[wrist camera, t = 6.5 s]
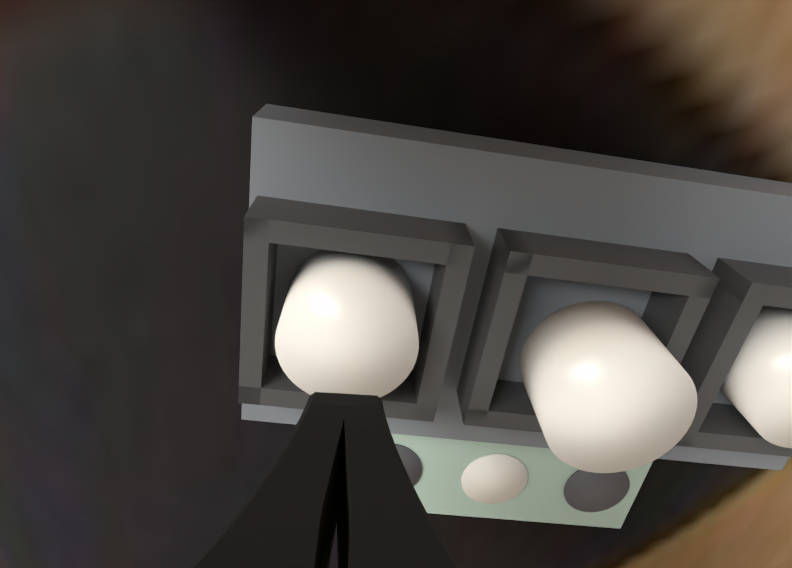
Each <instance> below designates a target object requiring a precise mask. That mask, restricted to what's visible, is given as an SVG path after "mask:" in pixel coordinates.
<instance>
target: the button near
mask: <svg viewBox="0 0 792 568" xmlns="http://www.w3.org/2000/svg"><path fill="white" fill-rule="evenodd" d="M275 350H276V355H277V358H278V361H279V364H280V366H281V368H282V370H283V371H284V373H285V374H286V375H287V377H288V378H289V379H290V380H291V381H292V382H293V383H294V384H295V385H296V386H297V387H299V388H300V389H301V390H303V391H304V392H306V393H308V394H310V395H312V394H313V393H314V392H325V393H342V394H359V395H376V396H378V397H379V398H380V397H382V396H384V395H386V394H388V393H390V392H391V391H393V390H394V389H396V388H397V387H398V386H399V385H400V384H401V383H403V381H404V380H405V379H406V378H407V377H408V375H409V374H410V372H411V371H412V369H413V367H414V365H415V363H416V359H417V356H418V350H419V338H418V330H417V322H416V315H415V307H414V300H413V293H412V287H411V284H410V281H409V279H408V277H407V275H406V273H405V272H404V270H403V269H402V267H401V266H400V265H399V264H398V263H397V262H396V261H395V260H394V259H393V258H385V257H378V256H370V255H362V254H354V253H346V252H338V251H330V250H322V249H321V250H319V251H317V252H316V253H314V254H312V255H311V256H309V257H308V258H307V259H306V260H305V261H304V262H303V263H302V264H301V265H300V266H299V267H298V269H297V270H296V272H295V274H294V276H293V278H292V280H291V283H290V286H289V290H288V293H287V296H286V300H285V303H284V306H283V309H282V313H281V316H280V319H279V322H278V326H277V329H276V334H275Z"/></svg>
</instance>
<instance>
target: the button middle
mask: <svg viewBox="0 0 792 568" xmlns="http://www.w3.org/2000/svg"><path fill="white" fill-rule="evenodd" d="M519 366H520V374H521V378H522V381H523V383H524V386H525V389H526V391H527V394H528V396H529V399H530V401H531V404H532V406H533V409H534V411H535V414H536V416H537V419H538V422H539V424H540V427H541V429H542V432H543V434H544V437H545V439H546V442H547V444H548V446H549V448H550V449H551V451H552V452H553V453H554V454H555V455H556V456H557V457H558V458H559V459H560V460H561V461H563V462H564V463H566V464H568V465H569V466H571V467H574V468H576V469H579V470H583V471H587V472H593V473H616V472H622V471H627V470H631V469H635V468H637V467H640V466H643V465H645V464H648V463H650V462H652V461H654V460H655V459H657V458H659V457H661V456H662V455H664V454H665V453H666V452H668V451H669V450H670V449H671V448H673V447H674V446H675V445H676V444H677V443H678V442H679V441H680V440H681V439H682V437H683V436H684V435H685V434H686V432H687V431H688V429H689V427H690V426H691V424H692V421H693V419H694V417H695V413H696V409H697V392H696V388H695V385H694V383H693V381H692V379H691V377H690V376H689V375H688V373H687V372H686V371H685V370H684V368H683V367H682V366H681V365H680V364H679V362H678V361H677V360H676V359H675V358H674V357H673V355H672V354H671V353H670V352H669V351H668V350H667V348H666V347H665V346H664V345H663V344H662V343H661V341H660V340H659V339H658V338H657V337H656V335H655V334H654V333H653V332H652V331H651V330H650V328H649V327H648V326H647V325H646V324H645V323H644V321H643V320H642V319H641V318H640V317H639V316H638V315H637V314H636V313H635V312H633V311H632V310H630V309H629V308H627V307H625V306H623V305H620V304H617V303H613V302H607V301H586V302H580V303H576V304H573V305H570V306H567V307H565V308H562V309H560V310H558V311H556V312H554V313H553V314H551V315H550V316H548V317H547V318H545V319H544V320H543V321H542V322H541V323H540V324H539V325H538V326H537V327H536V328H535V329H534V330H533V331H532V333H531V334H530V335H529V337H528V338H527V340H526V342H525V344H524V346H523V349H522V352H521V356H520V365H519Z"/></svg>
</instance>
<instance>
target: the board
mask: <svg viewBox="0 0 792 568" xmlns="http://www.w3.org/2000/svg"><path fill="white" fill-rule="evenodd" d="M321 249H322V250H330V251H338V252H346V253H354V254H362V255H370V256H378V257H385V258H393V259H394V260H395V261H396V262H397V263H398V264H399V265H400V266H401V267H402V269H403V270H404V272H405V273H406V275H407V277H408V279H409V281H410V284H411V287H412V293H413V300H414V307H415V315H416V322H417V330H418V338H419V350H418V356H417V359H416V363H415V365H414V367H413V369H412V371H411V372H410V374H409V375H408V377H407V378H406V379H405V380H404V381H403V383H401V384H400V385H399V386H398V387H397V388H396V389H394V390H393V391H391V392H390V393H388V394H386V395H384V396H382V397H380V399H381V400H382V402H383V408H384V412H385V416H386V419H387V423H388V426H389V429H390V432H391V434H402V435H412V436H423V437H433V438H444V439H455V440H465V441H476V442H486V443H497V444H507V445H518V446H528V447H539V448H549V446H548V444H547V442H546V439H545V437H544V434H543V432H542V429H541V427H540V424H539V422H538V419H537V416H536V414H535V411H534V409H533V406H532V404H531V401H530V399H529V396H528V394H527V391H526V389H525V386H524V383H523V381H522V378H521V374H520V366H519V365H520V356H521V352H522V349H523V346H524V344H525V342H526V340H527V338H528V337H529V335H530V334H531V333H532V331H533V330H534V329H535V328H536V327H537V326H538V325H539V324H540V323H541V322H542V321H543V320H544V319H545V318H547V317H548V316H550V315H551V314H553V313H554V312H556V311H558V310H560V309H562V308H565V307H567V306H570V305H573V304H576V303H580V302H586V301H607V302H613V303H617V304H620V305H623V306H625V307H627V308H629V309H630V310H632V311H633V312H635V313H636V314H637V315H638V316H639V317H640V318H641V319H642V320H643V321H644V323H645V324H646V325H647V326H648V327H649V328H650V330H651V331H652V332H653V333H654V334H655V335H656V337H657V338H658V339H659V340H660V341H661V343H662V344H663V345H664V346H665V347H666V348H667V350H668V351H669V352H670V353H671V354H672V355H673V357H674V358H675V359H676V360H677V361H678V362H679V364H680V365H681V366H682V367H683V368H684V370H685V371H686V372H687V373H688V375H689V376H690V377H691V379H692V381H693V383H694V385H695V388H696V392H697V409H696V413H695V417H694V419H693V421H692V424H691V426H690V427H689V429H688V431H687V432H686V434H685V435H684V436H683V437H682V439H681V440H680V441H679V442H678V443H677V444H676V445H675V446H674V447H673V448H671V449H670V450H669V451H668V452H666V453H665V454H664V455H662V456H661V457H659V458H657V459H666V460H676V461H687V462H697V463H708V464H718V465H729V466H740V467H750V468H761V469H771V470H782V469H783V467H784V466H785V464H786V463H787V461H788V459H789V458H790V457H792V448H785V447H780V446H777V445H774V444H772V443H770V442H768V441H767V440H765V439H764V438H763V437H762V436H761V435H760V434H759V433H758V432H757V431H756V430H755V429H754V428H753V426H752V425H751V424H750V423H749V422H748V421H747V420H746V419H745V417H744V416H743V415H742V414H741V413H740V412H739V411H738V410H737V409H736V407H735V406H734V405H733V404H732V403H731V402H730V401H729V400H728V399H727V397H726V396H725V395H724V394H723V393H722V392H721V391H720V388H721V386H722V384H723V382H724V380H725V379H726V377H727V375H728V373H729V371H730V369H731V367H732V365H733V363H734V361H735V359H736V357H737V355H738V353H739V351H740V349H741V347H742V346H743V344H744V342H745V340H746V338H747V336H748V334H749V332H750V330H751V328H752V326H753V324H754V322H755V320H756V318H757V316H758V315H759V313H760V311H761V309H762V307H763V305H764V306H772V307H780V308H788V309H792V183H787V182H781V181H774V180H767V179H761V178H754V177H748V176H741V175H734V174H728V173H721V172H715V171H708V170H701V169H695V168H688V167H681V166H675V165H668V164H662V163H655V162H648V161H642V160H635V159H629V158H622V157H615V156H609V155H602V154H596V153H589V152H582V151H576V150H569V149H563V148H556V147H549V146H543V145H536V144H530V143H523V142H516V141H510V140H503V139H496V138H490V137H483V136H477V135H470V134H463V133H457V132H450V131H444V130H437V129H430V128H424V127H417V126H411V125H404V124H397V123H391V122H384V121H378V120H371V119H364V118H358V117H351V116H344V115H338V114H331V113H325V112H318V111H311V110H305V109H298V108H292V107H285V106H278V105H272V104H266V105H265V106H264V107H262V108H261V109H260V110H259V111H258V112H257V113H256V114H255V115H254V116H252V141H251V168H250V196H249V210H248V211H247V213H246V214H245V216H244V243H243V274H242V305H241V336H240V367H239V398H238V403H242V418H241V419H244V420H254V421H265V422H275V423H286V424H297V423H298V421H299V419H300V417H301V415H302V413H303V410H304V408H305V406H306V404H307V401H308V398H309V396H310V394H308V393H306V392H304V391H303V390H301V389H300V388H299V387H297V386H296V385H295V384H294V383H293V382H292V381H291V380H290V379H289V378H288V377H287V375H286V374H285V373H284V371H283V370H282V368H281V366H280V364H279V361H278V358H277V355H276V350H275V334H276V329H277V326H278V322H279V319H280V316H281V313H282V309H283V306H284V303H285V300H286V296H287V293H288V290H289V286H290V283H291V280H292V278H293V276H294V274H295V272H296V270H297V269H298V267H299V266H300V265H301V264H302V263H303V262H304V261H305V260H306V259H307V258H308V257H309V256H311V255H312V254H314V253H316V252H317V251H319V250H321Z"/></svg>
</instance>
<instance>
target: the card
mask: <svg viewBox="0 0 792 568" xmlns="http://www.w3.org/2000/svg"><path fill="white" fill-rule="evenodd" d="M391 435H392V437H393V440H394V443H395V446H396V448H397V451H398V453H399V456H400V458H401V460H402V462H403V465H404V467H405V469H406V471H407V474H408V476H409V478H410V480H411V482H412V485H413V487H414V489H415V491H416V493H417V495H418V497H419V499H420V501H421V502H422V504H423V506H424V508H425V510H426V512H427V513H433V514H446V515H458V516H470V517H483V518H495V519H508V520H520V521H532V522H545V523H557V524H569V525H582V526H594V527H607V528H619V529H621V527H622V524H623V522H624V520H625V518H626V516H627V514H628V512H629V510H630V508H631V506H632V504H633V502H634V500H635V498H636V496H637V493H638V491H639V489H640V487H641V485H642V483H643V481H644V479H645V477H646V475H647V473H648V471H649V469H650V467H651V464H652V462H653V461H652V462H650V463H648V464H645V465H643V466H640V467H637V468H635V469H631V470H627V471H622V472H616V473H593V472H587V471H583V470H579V469H576V468H574V467H571V466H569V465H568V464H566V463H564V462H563V461H561V460H560V459H559V458H558V457H557V456H556V455H555V454H554V453H553V452H552V451H551V449H550V448H539V447H528V446H518V445H507V444H497V443H486V442H476V441H465V440H455V439H444V438H433V437H423V436H412V435H402V434H391Z"/></svg>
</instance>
